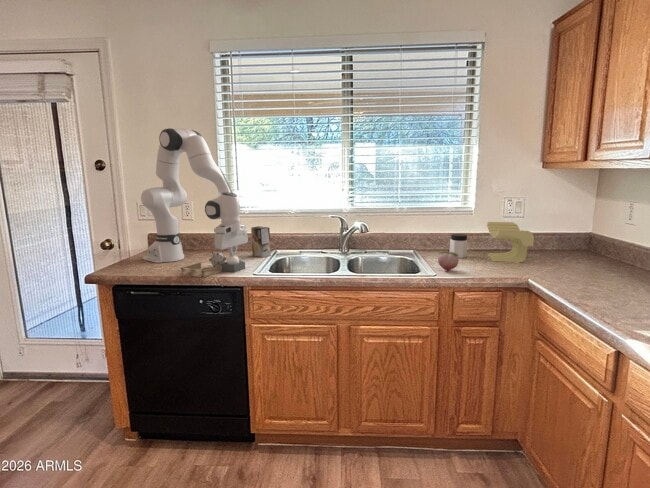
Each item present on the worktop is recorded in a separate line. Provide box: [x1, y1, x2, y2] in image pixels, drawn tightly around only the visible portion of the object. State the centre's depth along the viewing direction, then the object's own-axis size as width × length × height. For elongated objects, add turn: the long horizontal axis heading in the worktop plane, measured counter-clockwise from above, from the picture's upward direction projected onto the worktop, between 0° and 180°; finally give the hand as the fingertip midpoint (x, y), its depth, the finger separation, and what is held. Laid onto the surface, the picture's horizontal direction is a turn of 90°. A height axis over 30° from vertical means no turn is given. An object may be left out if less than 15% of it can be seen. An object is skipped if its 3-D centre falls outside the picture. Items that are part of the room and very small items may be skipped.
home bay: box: [180, 262, 222, 278], centre depth 182 cm, size 14×12×3 cm
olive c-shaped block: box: [486, 221, 535, 263], centre depth 202 cm, size 30×16×18 cm, turn 167°
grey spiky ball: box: [208, 250, 228, 267], centre depth 192 cm, size 9×8×10 cm
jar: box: [449, 233, 469, 259], centre depth 210 cm, size 9×8×12 cm
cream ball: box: [226, 255, 240, 265], centre depth 187 cm, size 6×6×7 cm
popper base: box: [221, 260, 246, 273], centre depth 187 cm, size 8×8×4 cm
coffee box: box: [250, 225, 272, 258], centre depth 217 cm, size 9×6×16 cm
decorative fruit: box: [437, 249, 459, 272], centre depth 181 cm, size 9×8×10 cm
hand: (232, 255), depth 186 cm, fingers closed, pressing on cream ball
